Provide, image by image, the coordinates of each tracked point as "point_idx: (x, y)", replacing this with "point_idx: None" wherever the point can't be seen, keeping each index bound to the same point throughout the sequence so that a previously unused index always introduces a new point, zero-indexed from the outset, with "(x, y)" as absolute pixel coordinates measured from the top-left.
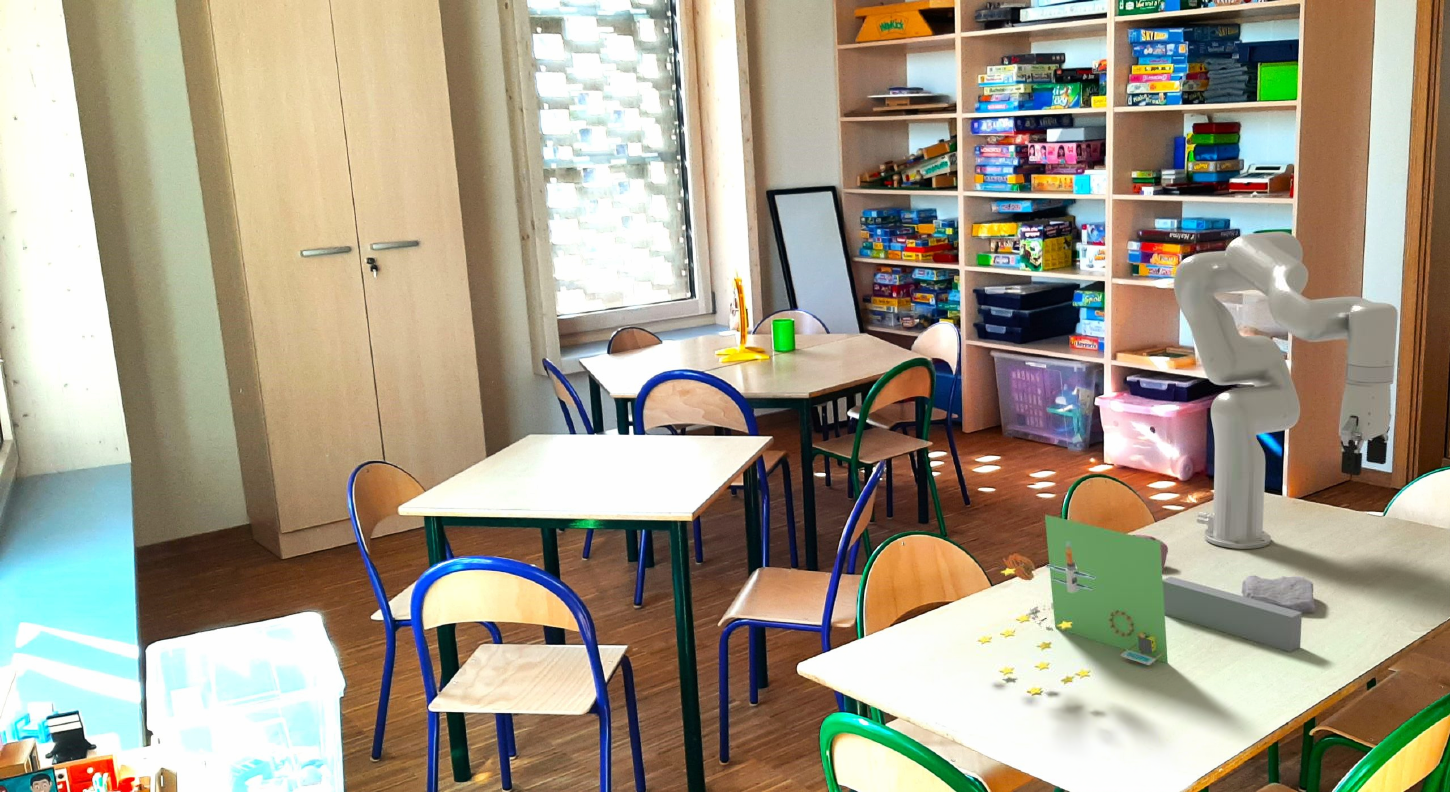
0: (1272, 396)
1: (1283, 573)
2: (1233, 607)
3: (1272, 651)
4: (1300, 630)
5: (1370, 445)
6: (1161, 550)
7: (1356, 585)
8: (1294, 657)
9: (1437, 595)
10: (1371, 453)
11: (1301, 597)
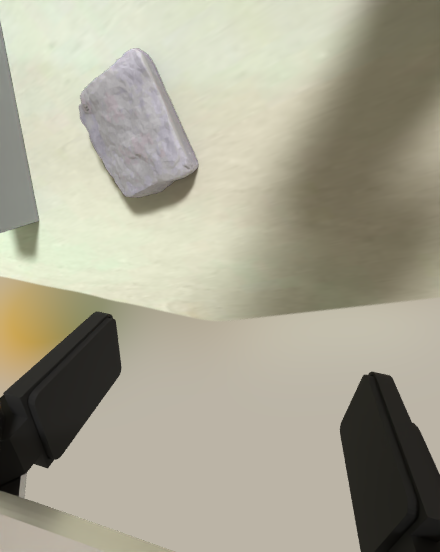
0: None
1: (293, 68)
2: None
3: None
4: (19, 226)
5: (387, 483)
6: None
7: (294, 210)
8: None
9: (308, 310)
10: (368, 432)
11: (122, 182)
